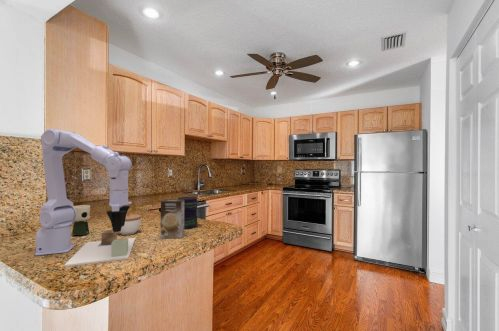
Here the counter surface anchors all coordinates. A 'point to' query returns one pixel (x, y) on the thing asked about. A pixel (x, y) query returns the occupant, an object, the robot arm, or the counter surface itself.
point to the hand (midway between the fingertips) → (118, 228)
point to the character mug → (81, 220)
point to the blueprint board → (97, 254)
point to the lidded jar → (131, 224)
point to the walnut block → (108, 237)
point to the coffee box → (172, 218)
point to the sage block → (119, 247)
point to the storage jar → (190, 212)
